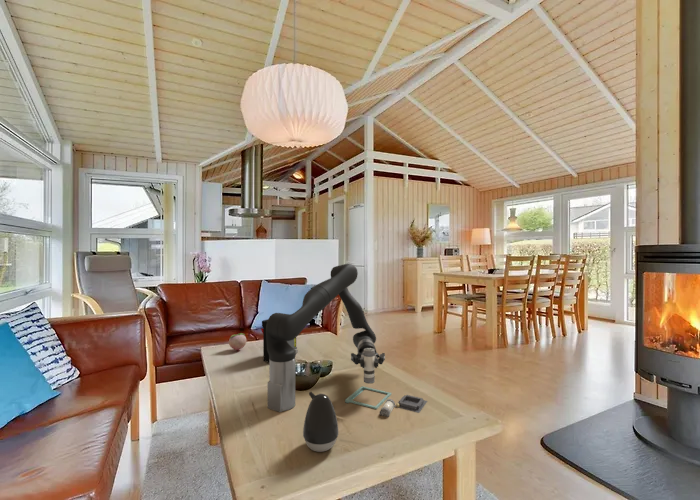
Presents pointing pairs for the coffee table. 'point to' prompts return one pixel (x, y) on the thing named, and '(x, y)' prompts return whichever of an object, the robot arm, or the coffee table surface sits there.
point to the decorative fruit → (237, 341)
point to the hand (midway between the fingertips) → (369, 365)
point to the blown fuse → (369, 365)
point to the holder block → (411, 403)
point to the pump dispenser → (320, 423)
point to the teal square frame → (356, 393)
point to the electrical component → (265, 352)
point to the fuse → (387, 408)
